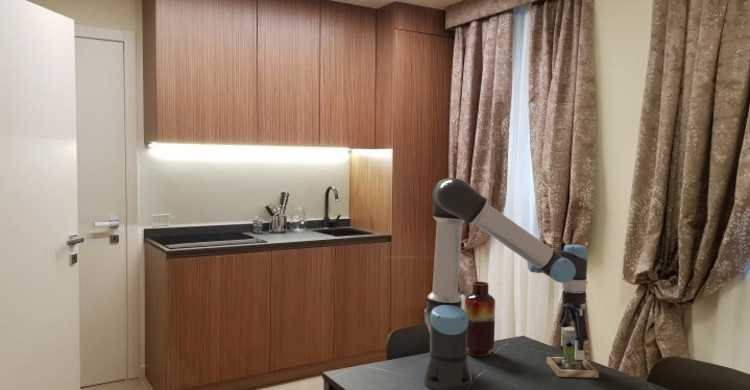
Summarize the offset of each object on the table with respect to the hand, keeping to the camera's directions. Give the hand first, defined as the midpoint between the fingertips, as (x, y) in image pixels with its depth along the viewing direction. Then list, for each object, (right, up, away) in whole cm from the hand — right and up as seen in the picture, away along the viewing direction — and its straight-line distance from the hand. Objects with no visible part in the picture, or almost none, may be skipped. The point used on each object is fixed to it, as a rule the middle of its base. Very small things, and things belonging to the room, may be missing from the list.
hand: (571, 352), depth 182 cm
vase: (-29, -5, +16) cm, 33 cm away
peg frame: (0, -6, 0) cm, 6 cm away
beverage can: (0, -4, 0) cm, 4 cm away
